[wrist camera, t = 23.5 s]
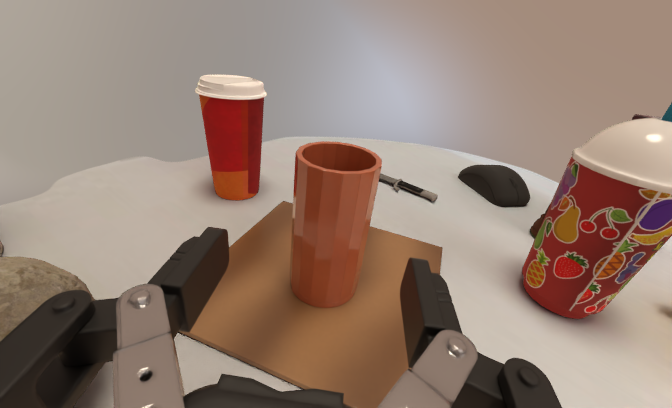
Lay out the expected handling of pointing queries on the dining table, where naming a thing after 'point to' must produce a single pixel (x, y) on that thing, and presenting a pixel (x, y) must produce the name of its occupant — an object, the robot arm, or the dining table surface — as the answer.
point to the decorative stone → (29, 288)
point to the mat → (313, 314)
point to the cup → (331, 220)
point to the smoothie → (604, 218)
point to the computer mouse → (497, 184)
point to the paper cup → (233, 132)
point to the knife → (409, 187)
